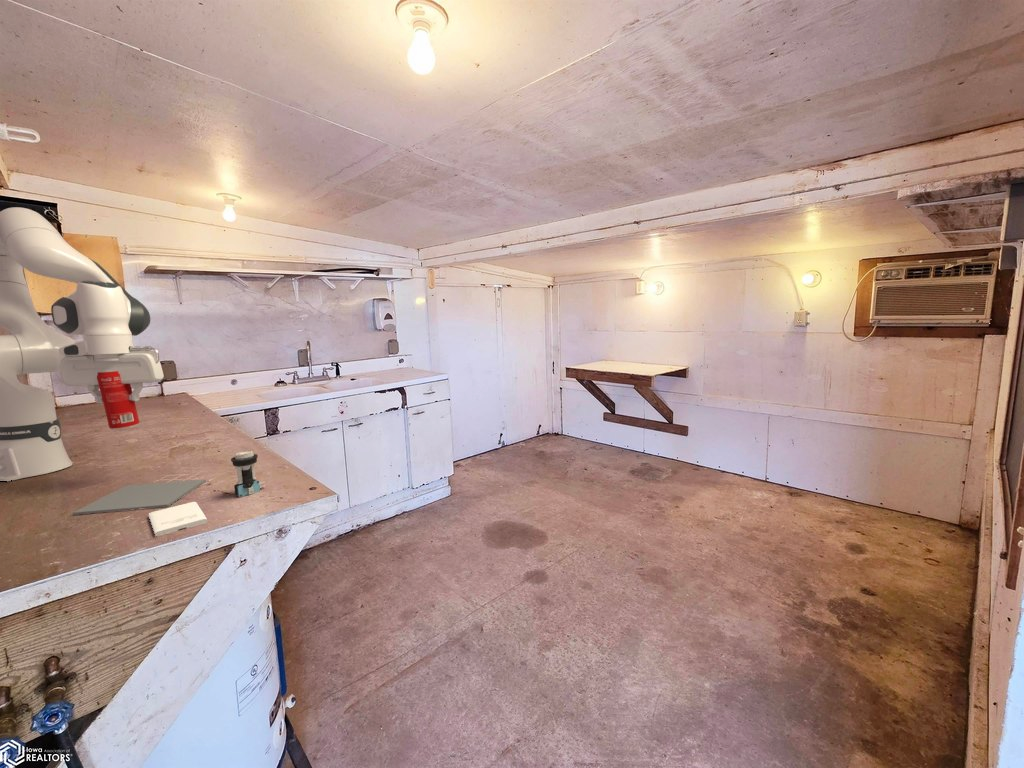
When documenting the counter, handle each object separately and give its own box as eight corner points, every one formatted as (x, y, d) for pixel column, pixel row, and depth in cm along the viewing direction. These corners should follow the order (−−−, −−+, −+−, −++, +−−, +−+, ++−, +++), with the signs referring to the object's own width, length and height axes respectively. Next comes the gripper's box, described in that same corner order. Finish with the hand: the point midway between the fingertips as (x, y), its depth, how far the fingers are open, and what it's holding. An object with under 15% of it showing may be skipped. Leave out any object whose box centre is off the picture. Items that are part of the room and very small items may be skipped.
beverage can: (145, 424, 108) (137, 368, 106) (120, 430, 102) (110, 370, 100) (125, 424, 109) (116, 368, 107) (98, 430, 103) (89, 370, 101)
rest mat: (73, 515, 89) (72, 512, 89) (126, 487, 104) (126, 485, 104) (168, 507, 92) (167, 504, 92) (205, 481, 108) (205, 479, 108)
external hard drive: (196, 507, 93) (207, 524, 84) (149, 520, 87) (155, 539, 79) (196, 501, 93) (206, 517, 84) (147, 512, 87) (154, 531, 78)
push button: (259, 485, 104) (255, 447, 103) (271, 489, 101) (267, 450, 100) (230, 495, 99) (226, 454, 97) (242, 499, 96) (237, 457, 94)
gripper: (165, 345, 108) (172, 397, 110) (72, 348, 104) (81, 402, 106) (149, 346, 102) (156, 401, 104) (50, 349, 98) (60, 406, 100)
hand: (118, 401), depth 105 cm, fingers closed on beverage can, 6 cm apart
